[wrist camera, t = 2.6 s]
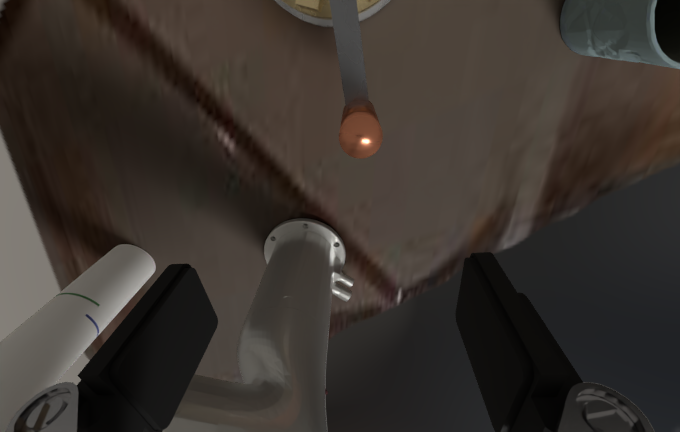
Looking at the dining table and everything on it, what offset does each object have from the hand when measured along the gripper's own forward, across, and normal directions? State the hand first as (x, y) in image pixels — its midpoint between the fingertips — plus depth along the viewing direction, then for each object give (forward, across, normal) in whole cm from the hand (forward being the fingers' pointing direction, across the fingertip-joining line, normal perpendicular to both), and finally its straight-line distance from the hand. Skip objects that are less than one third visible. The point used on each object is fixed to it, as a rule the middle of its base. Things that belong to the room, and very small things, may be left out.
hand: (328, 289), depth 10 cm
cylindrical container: (+28, +37, +21) cm, 51 cm away
